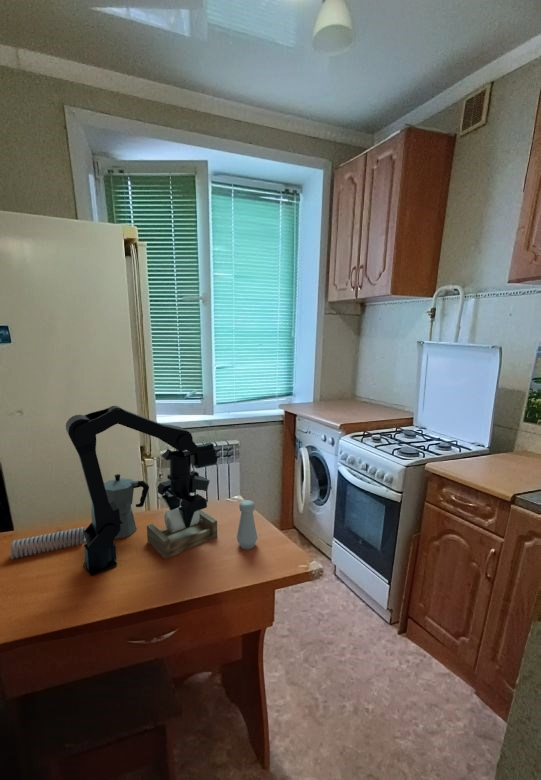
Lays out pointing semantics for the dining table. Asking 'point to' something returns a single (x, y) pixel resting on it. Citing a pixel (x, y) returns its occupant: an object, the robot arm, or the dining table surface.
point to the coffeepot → (125, 501)
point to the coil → (47, 542)
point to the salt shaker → (247, 525)
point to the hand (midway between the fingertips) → (182, 523)
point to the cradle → (182, 536)
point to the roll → (178, 520)
